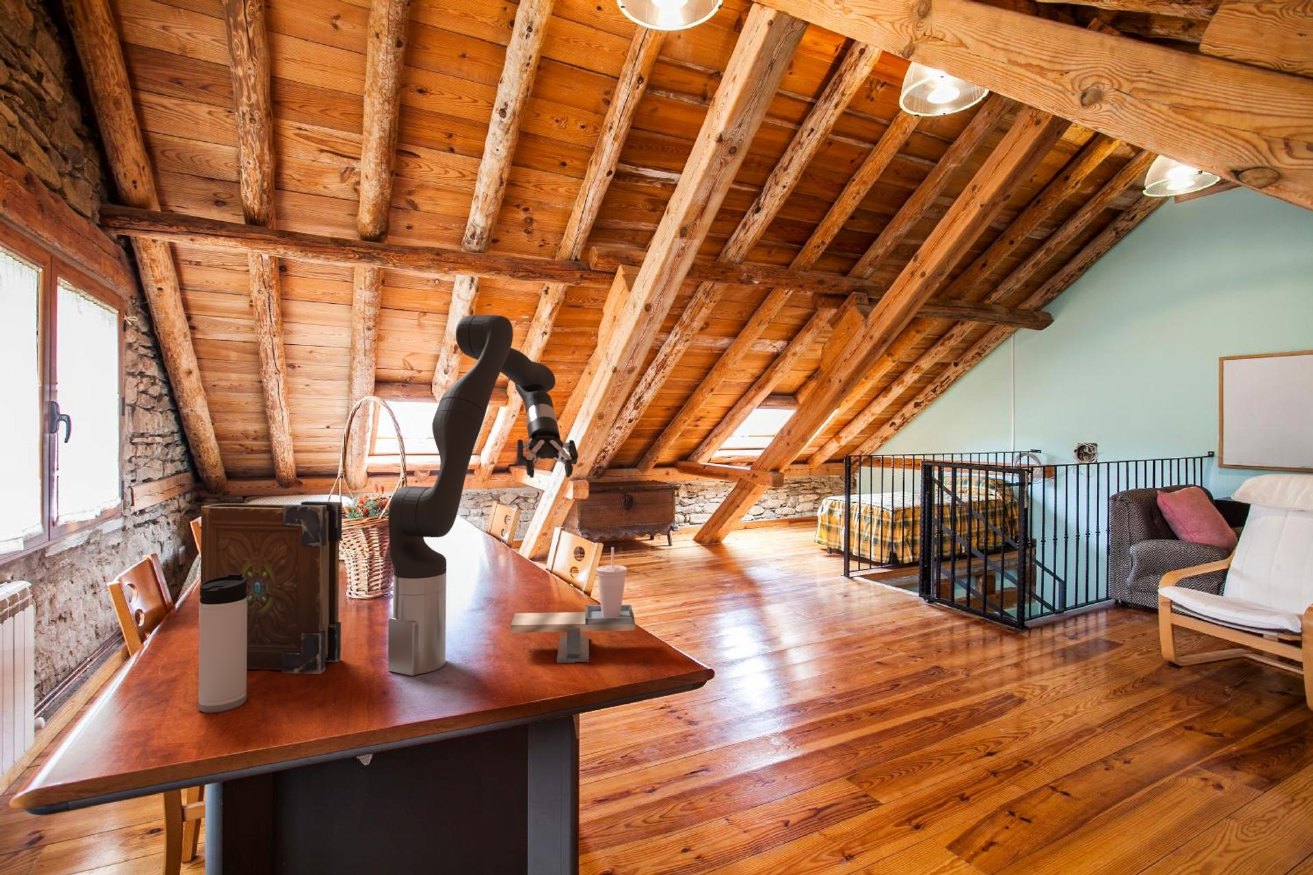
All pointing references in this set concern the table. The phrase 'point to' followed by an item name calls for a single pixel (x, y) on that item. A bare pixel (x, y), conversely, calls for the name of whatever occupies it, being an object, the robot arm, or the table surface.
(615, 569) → the smoothie
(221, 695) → the travel mug
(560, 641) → the pivot stand
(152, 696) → the table surface
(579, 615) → the balance beam
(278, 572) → the decorative book
